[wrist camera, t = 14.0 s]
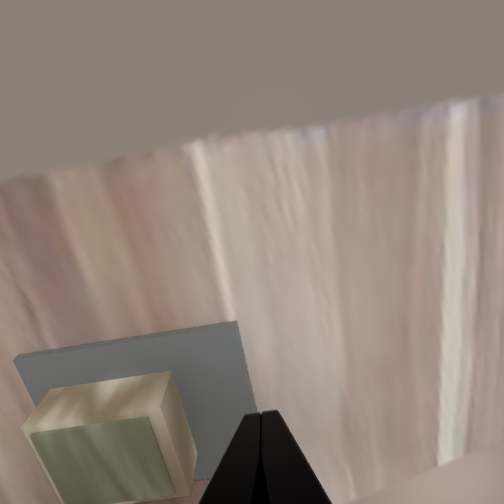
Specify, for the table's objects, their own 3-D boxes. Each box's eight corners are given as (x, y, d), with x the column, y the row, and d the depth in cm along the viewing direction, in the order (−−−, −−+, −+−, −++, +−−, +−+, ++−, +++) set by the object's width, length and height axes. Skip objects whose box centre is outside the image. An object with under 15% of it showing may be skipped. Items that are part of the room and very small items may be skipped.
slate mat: (236, 320, 22) (236, 325, 21) (268, 464, 26) (269, 470, 25) (18, 355, 22) (12, 360, 22) (82, 488, 27) (79, 495, 26)
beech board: (159, 409, 19) (18, 430, 20) (190, 499, 22) (64, 515, 22) (171, 370, 22) (49, 389, 23) (197, 452, 25) (86, 468, 25)
